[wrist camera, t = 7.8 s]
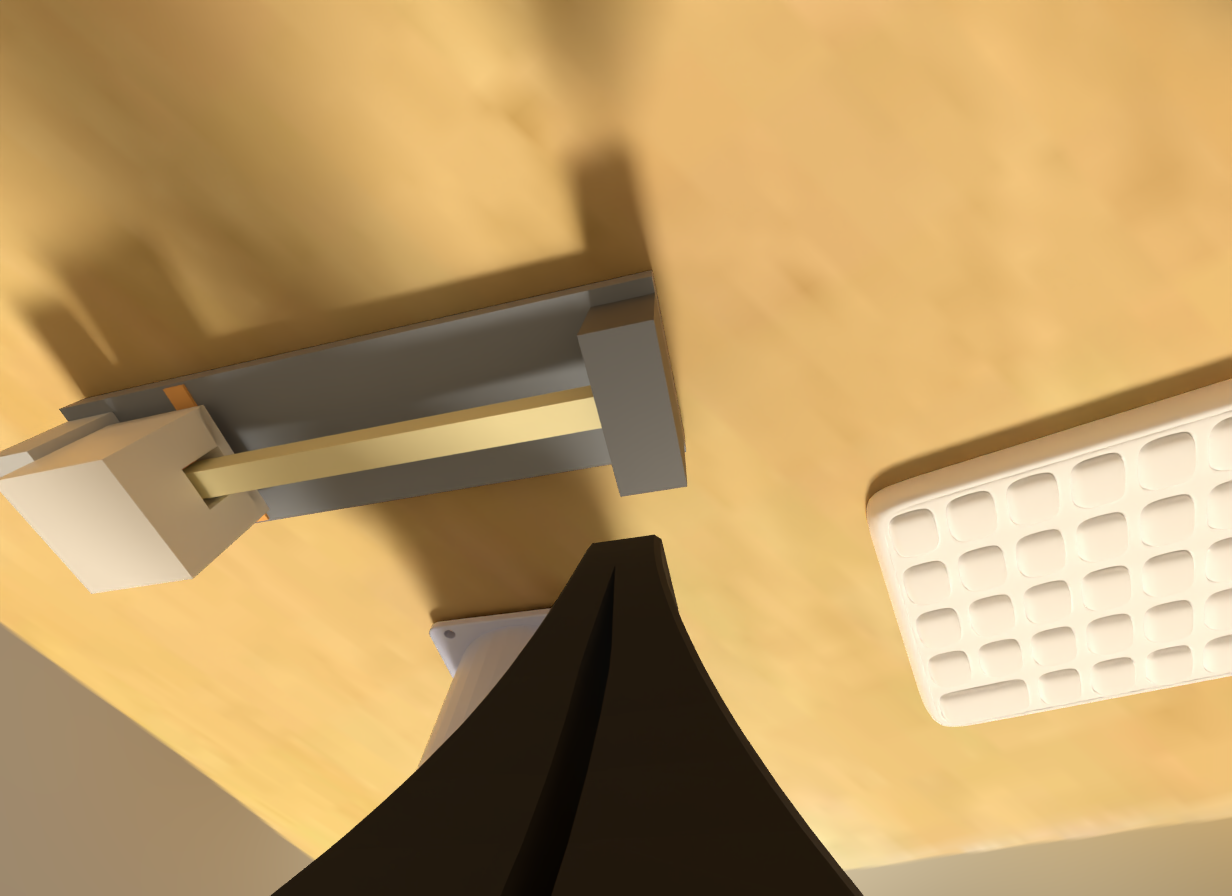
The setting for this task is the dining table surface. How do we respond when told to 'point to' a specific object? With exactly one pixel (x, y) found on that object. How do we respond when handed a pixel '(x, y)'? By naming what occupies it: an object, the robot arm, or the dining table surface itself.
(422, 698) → the dining table surface
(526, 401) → the cord board
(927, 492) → the calculator
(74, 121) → the dining table surface
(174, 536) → the beige sliding bead
